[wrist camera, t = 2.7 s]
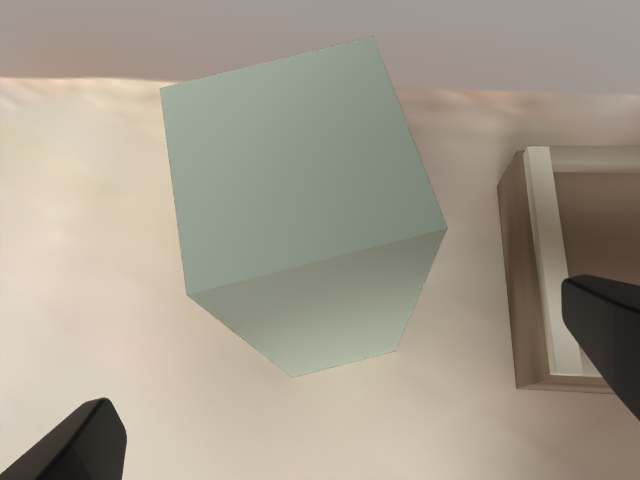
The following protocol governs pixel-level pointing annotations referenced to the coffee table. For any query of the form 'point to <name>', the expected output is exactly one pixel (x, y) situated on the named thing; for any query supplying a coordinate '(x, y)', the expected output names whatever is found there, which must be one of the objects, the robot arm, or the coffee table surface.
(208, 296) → the sage pillar
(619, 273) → the square shallow tray
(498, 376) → the coffee table surface
